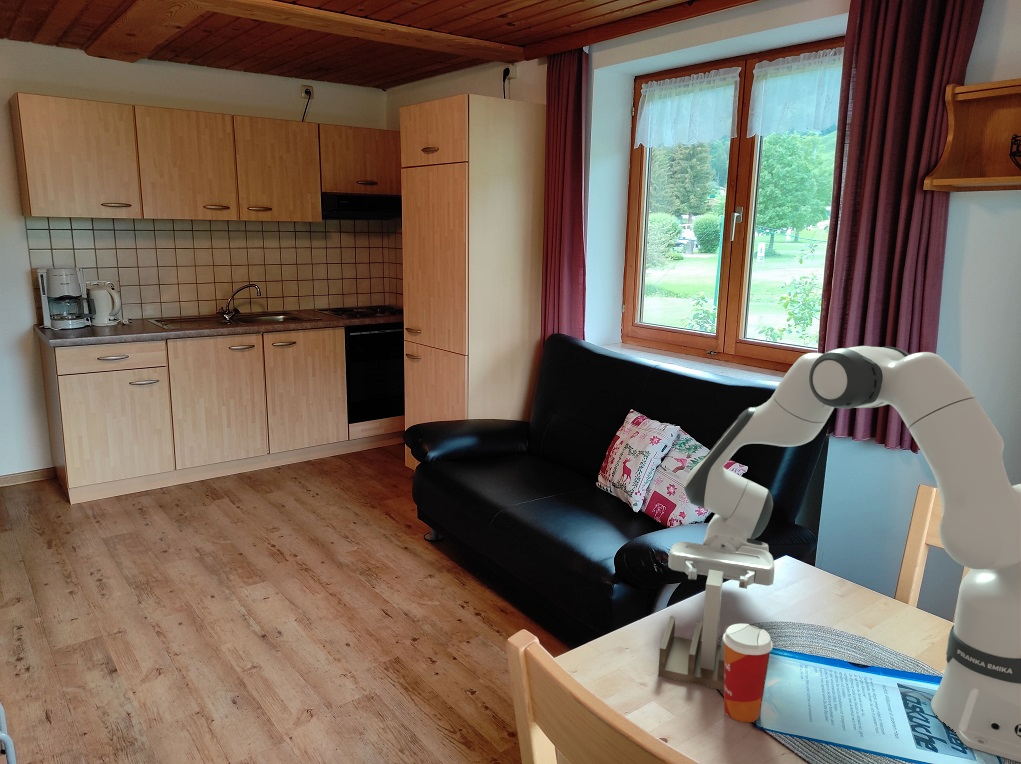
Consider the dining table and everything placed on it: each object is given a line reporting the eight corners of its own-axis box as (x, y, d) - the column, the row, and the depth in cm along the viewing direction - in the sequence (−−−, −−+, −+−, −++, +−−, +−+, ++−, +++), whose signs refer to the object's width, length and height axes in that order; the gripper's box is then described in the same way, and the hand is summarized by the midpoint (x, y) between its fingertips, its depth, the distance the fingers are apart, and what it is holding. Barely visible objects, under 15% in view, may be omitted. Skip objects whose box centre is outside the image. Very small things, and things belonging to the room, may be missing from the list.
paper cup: (729, 691, 128) (735, 616, 125) (773, 710, 124) (780, 632, 121) (709, 713, 122) (715, 635, 120) (755, 734, 118) (762, 653, 115)
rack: (756, 659, 138) (758, 632, 137) (753, 696, 127) (755, 667, 126) (668, 642, 144) (670, 615, 142) (658, 676, 132) (659, 648, 131)
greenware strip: (717, 652, 137) (723, 571, 134) (714, 670, 132) (720, 586, 129) (703, 650, 138) (709, 569, 135) (700, 667, 133) (706, 584, 129)
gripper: (673, 529, 158) (663, 555, 145) (776, 544, 151) (774, 573, 139) (671, 557, 159) (661, 585, 147) (773, 573, 153) (771, 605, 140)
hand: (717, 580), depth 143 cm, fingers open, 8 cm apart
